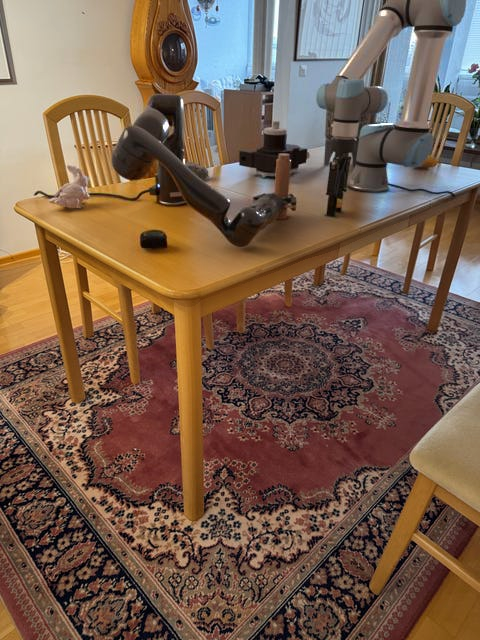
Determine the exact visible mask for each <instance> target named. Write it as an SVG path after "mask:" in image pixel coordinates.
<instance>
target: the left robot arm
mask: <svg viewBox="0 0 480 640" xmlns="http://www.w3.org/2000/svg"><path fill="white" fill-rule="evenodd" d="M184 119H185V106H184V99H183V97H182V95H180V94H178V93H153V94H152V95H151V96H149V98H148V100H147V102H146V105H145V107H144V109H143V110H142V111H141V113H140V114H139V115H138V116H137V117H136V118H135V120H134V122H133V123H132V124H130V125H129V124H128V125H127V126H125V128H123V130H122V132H121V134H120V136H119V138H118V140H117V142H116V144H115V146H114V148H113V150H112V152H111V156H110V163H111V165H112V168H113V170H114V171H115V172H116V174H117V175H119V176H120V177H121V178H122V179H125V180H128V181H133V182H134V181H135V182H136V181H141V180H143V179H144V178H146V176H147V175H148V173H149V172H150V170H151V168H152V166H153V165H154V163H155V161H156V173H155V174H154V180H155V181H154V182H155V184H154V185H152V186H150V187H148V188H147V189H145V190H142V191H140V192H139V193H138V194H137V196H135V197H127V196H124V195H120V194H114V193H106V192H88V194H89V197H92V196H98V197H99V196H103V197H112V198H117V199H118V198H119V199H122V200H125V201H131V202H132V201H137V200H139V199H140V198H141V197H142V195H144V194H146V193H149V196H155V197H156V204H157V203H158V204H160V205H164V206H170V207H171V206H173V207H174V206H175V207H177V206H181V205H185V204H187V205H188V206H189V207H190V208H191V209H192V210H194V211H195V212H197V214H199V215H201V216H202V217H204V218H205V219H206V220H208V221H210V222H211V224H213V225H214V226H215V227H216V229H217V230H218V231H219V232H220V233H221V234H222V236H223V237H224V238H225V239H226V240H227V242H229V244H231V245H232V246H233V247H237V248H247V246H249V245H250V244H251V242H252V241H253V239H255V237H257V235H258V234H259V233H260V231H263V230H264V229H265V228H267V227H268V226H269V225H271V224H272V223H274V222H275V221H276V220H278V219H277V218H278V217H279V216H280V215H281V213H282V212H283V210H286V209H287V210H288V209H290V210H291V211H292V212H295V211H297V196H296V197H295V195H294V194H293V193H290V192H289V193H288V196H282V197H278V196H277V195H275V191H273V192H271V193H269V192H268V193H261V194H258V195H255V196H253V197H252V204H251V205H244V206H243V207H242V208H241V209H240V210H239V211H238V212H237V213H236V215H235V216H234V218H233V219H232V220H230V219H229V218H228V215H227V214H228V213H229V209H230V207H231V201H230V199H229V198H228V197H227V196H225V195H224V194H222V193H221V192H220V191H218V190H217V189H215V188H214V187H212V186H211V185H210V184H208V183H207V182H206V181H204V179H200V178H199V177H198V176H197V175H195V174H194V173H193V172H192V171H191V170H190V169H189V168H188V167H187V166H186V165H185V164H186V157H185V156H186V155H185V153H186V152H185V125H184V124H185V120H184ZM170 127H171V128H172V131H171V132H170ZM39 194H41V195H42V196H45V197H47V198H49V199H52V198H55V197H57V198H58V197H59V195H58V196H54V195H55V194H53V195H52V194H47V193H46V192H44V191H42V190H37V191H35V192H34V194H33V196H38V195H39Z"/></svg>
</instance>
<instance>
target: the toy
mask: <svg viewBox="0 0 480 640" xmlns="http://www.w3.org/2000/svg"><path fill="white" fill-rule="evenodd" d="M438 164H439V161H438V160H437V159H434V158H433V156H432V155H431V154H430V155H429V156H428V158H427V159H426V161H425V162H424V163H423V164H422V165H420V166H419V167H420V168H421V169H431V168H434V167H436V166H438Z"/></svg>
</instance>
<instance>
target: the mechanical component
mask: <svg viewBox="0 0 480 640" xmlns="http://www.w3.org/2000/svg"><path fill="white" fill-rule="evenodd" d="M287 138H288V129H287V128H286V127H280V121H279V120H272V126H271V127H265V128H264V129H263V145H262V146H258V147H257V148H256V151H250V150H245V149H241V150H239V153H238V154H239V155H238V157H239V159H238V166H240V167H245V168H250V169H255V173H256V174H257V175H261V177H262V178H267V177H276V160H277V159H278V154H281V153H285V154H289V155H290V156H289V159H290V160H291V165H290V176H291V175H292V173H298V171H299V167H300V165H303V164H304V165H305V164H307V160H309V158H310V156H311V154H310V152H309V151H308V148H304V147H301V146H299V145H297V144H290V143H287Z"/></svg>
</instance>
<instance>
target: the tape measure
mask: <svg viewBox="0 0 480 640" xmlns="http://www.w3.org/2000/svg"><path fill="white" fill-rule="evenodd" d="M167 236H168V235H167V234H166V232H165V231H164V230H161V229H147V230H144V231H143V232H141V233H140V235H139V240H140V241H139V245H140V246H139V247H141V248H142V249H146V250H157V249H167V248H168V240H167V239H168V237H167Z"/></svg>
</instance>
